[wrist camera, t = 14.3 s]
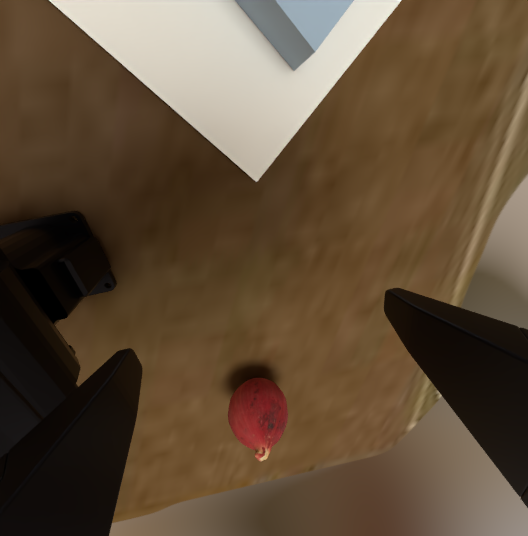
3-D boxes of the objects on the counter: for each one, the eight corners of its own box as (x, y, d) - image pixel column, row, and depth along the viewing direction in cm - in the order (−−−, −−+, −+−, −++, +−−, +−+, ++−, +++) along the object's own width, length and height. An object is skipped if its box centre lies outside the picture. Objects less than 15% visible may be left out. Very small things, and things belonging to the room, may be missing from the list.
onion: (246, 353, 27) (255, 430, 20) (289, 370, 29) (311, 445, 22) (217, 389, 29) (217, 471, 22) (260, 402, 31) (272, 481, 24)
